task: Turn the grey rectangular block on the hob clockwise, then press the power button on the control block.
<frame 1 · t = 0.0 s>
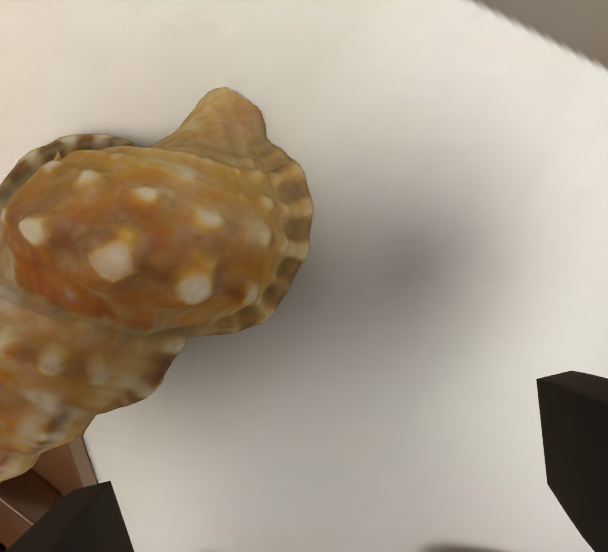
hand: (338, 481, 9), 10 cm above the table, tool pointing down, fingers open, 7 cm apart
seashell: (148, 264, 18), on the table
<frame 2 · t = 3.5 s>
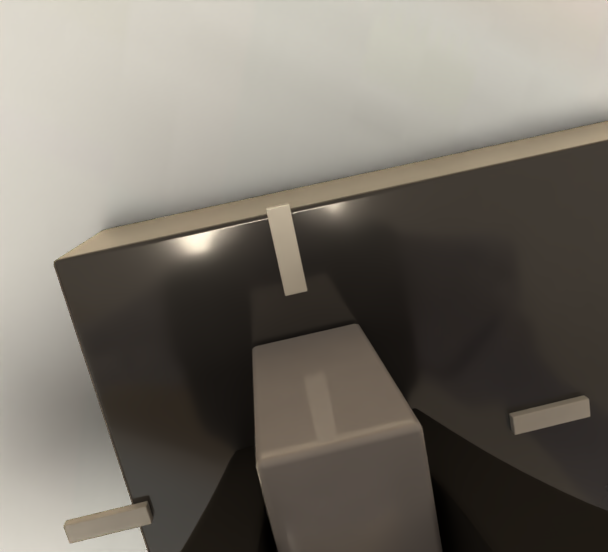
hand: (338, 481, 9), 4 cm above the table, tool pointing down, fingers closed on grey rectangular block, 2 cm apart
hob: (398, 369, 13), on the table
grey rectangular block: (353, 539, 8), point 5 cm above the table, hinge at 89.9°, touching gripper
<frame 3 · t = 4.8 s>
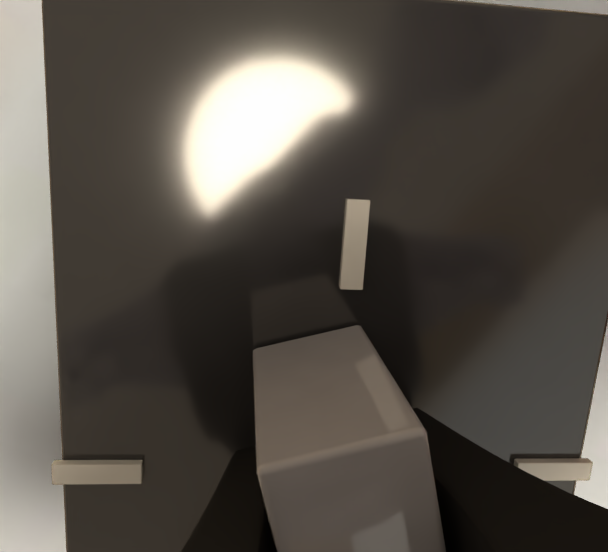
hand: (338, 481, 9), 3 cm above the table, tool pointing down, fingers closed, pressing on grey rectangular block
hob: (319, 305, 12), on the table
grey rectangular block: (355, 544, 8), point 5 cm above the table, hinge at 15.1°, touching gripper
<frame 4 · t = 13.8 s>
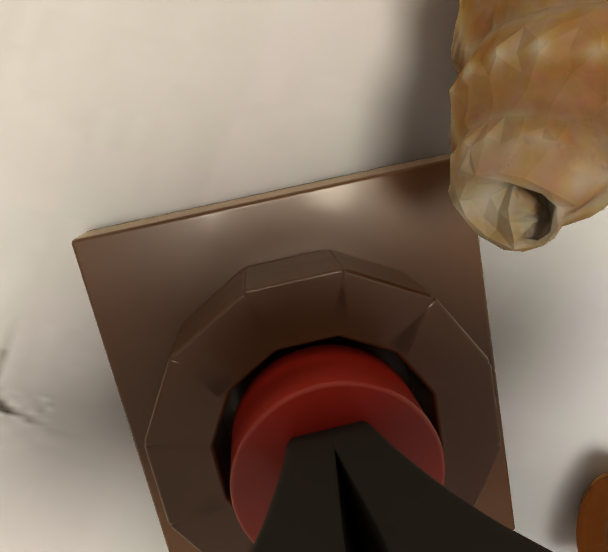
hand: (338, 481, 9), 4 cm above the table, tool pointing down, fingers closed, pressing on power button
control block: (311, 378, 13), on the table
power button: (332, 454, 10), point 3 cm above the table, slide at -0.1 cm, touching gripper
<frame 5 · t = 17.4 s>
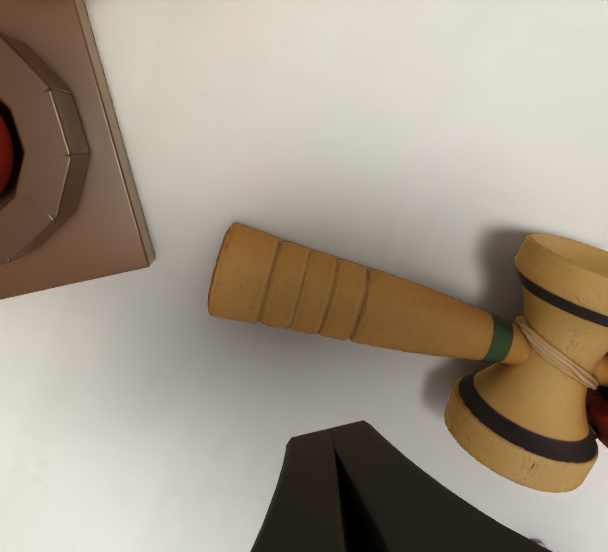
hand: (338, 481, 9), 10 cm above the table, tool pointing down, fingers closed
kendama: (462, 316, 20), on the table
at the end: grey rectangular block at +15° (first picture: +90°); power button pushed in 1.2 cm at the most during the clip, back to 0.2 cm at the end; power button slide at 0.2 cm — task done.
